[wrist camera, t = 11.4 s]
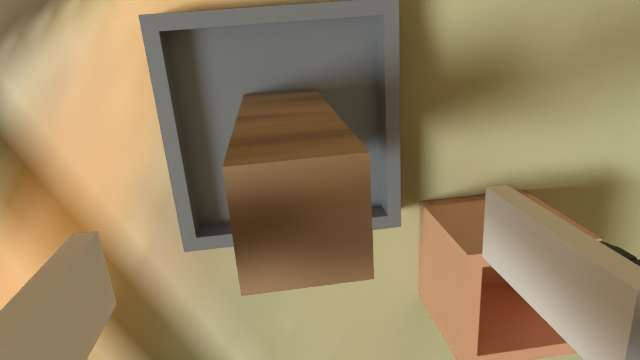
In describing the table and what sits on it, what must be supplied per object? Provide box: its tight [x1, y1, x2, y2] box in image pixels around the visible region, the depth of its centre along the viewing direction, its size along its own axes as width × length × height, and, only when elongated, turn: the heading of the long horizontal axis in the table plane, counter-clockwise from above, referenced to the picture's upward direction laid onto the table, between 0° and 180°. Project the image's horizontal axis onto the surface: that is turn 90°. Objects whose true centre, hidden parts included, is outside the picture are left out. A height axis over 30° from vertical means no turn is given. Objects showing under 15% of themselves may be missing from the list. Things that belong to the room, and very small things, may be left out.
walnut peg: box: [222, 89, 374, 296], centre depth 24 cm, size 5×5×17 cm
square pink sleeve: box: [419, 190, 602, 360], centre depth 34 cm, size 9×9×9 cm
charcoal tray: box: [139, 0, 401, 252], centre depth 31 cm, size 16×16×3 cm
